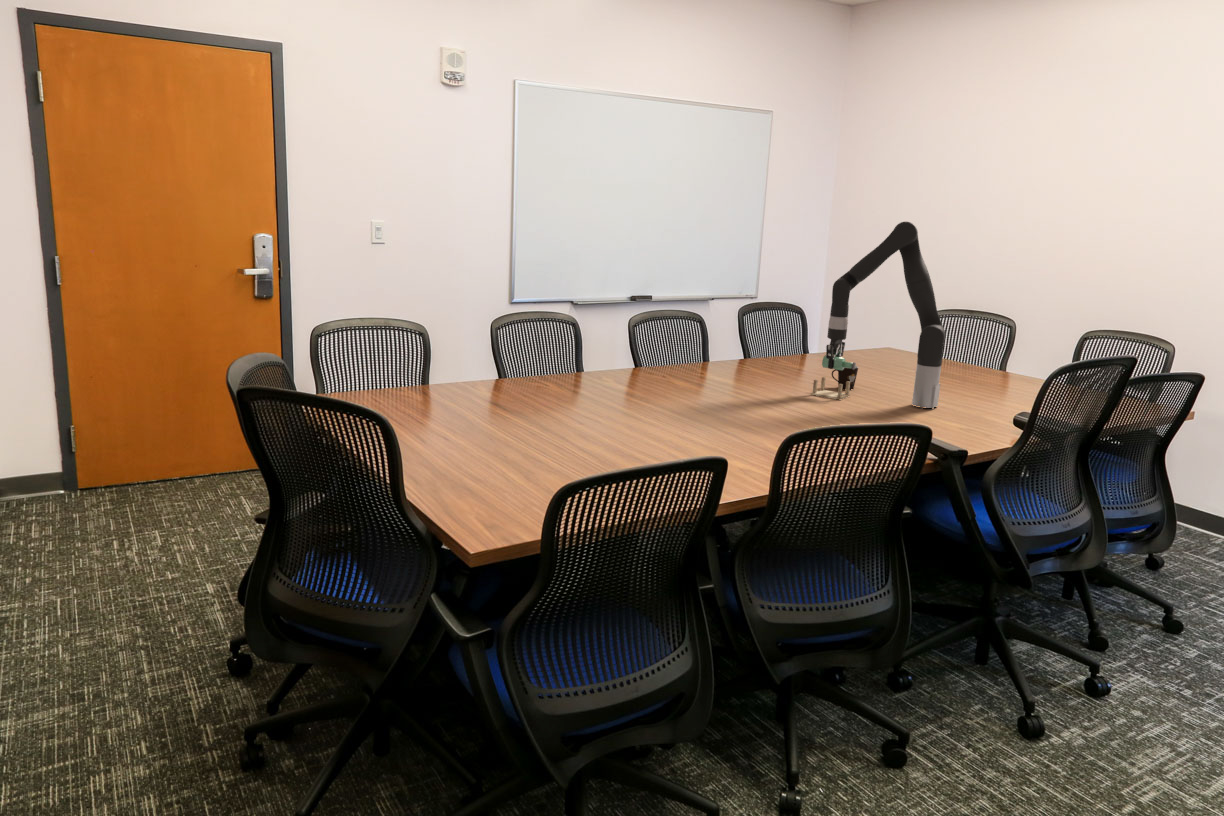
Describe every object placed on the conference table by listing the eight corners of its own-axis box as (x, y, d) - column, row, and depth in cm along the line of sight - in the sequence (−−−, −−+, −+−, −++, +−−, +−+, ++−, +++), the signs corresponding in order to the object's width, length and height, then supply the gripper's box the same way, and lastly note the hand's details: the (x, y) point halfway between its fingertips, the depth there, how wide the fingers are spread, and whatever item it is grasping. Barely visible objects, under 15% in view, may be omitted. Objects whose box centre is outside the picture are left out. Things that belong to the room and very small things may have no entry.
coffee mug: (854, 387, 384) (856, 365, 382) (857, 391, 376) (860, 368, 374) (827, 385, 385) (829, 363, 383) (830, 389, 377) (832, 367, 375)
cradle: (849, 396, 365) (851, 381, 363) (840, 400, 357) (842, 384, 356) (820, 391, 372) (822, 376, 371) (811, 395, 365) (812, 379, 363)
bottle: (856, 370, 359) (857, 358, 358) (851, 373, 355) (852, 361, 354) (826, 366, 367) (827, 354, 365) (821, 368, 363) (822, 356, 361)
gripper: (839, 330, 350) (835, 371, 354) (853, 326, 361) (848, 367, 365) (821, 327, 355) (817, 368, 359) (836, 324, 366) (831, 364, 370)
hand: (833, 367), depth 362 cm, fingers closed on bottle, 5 cm apart
